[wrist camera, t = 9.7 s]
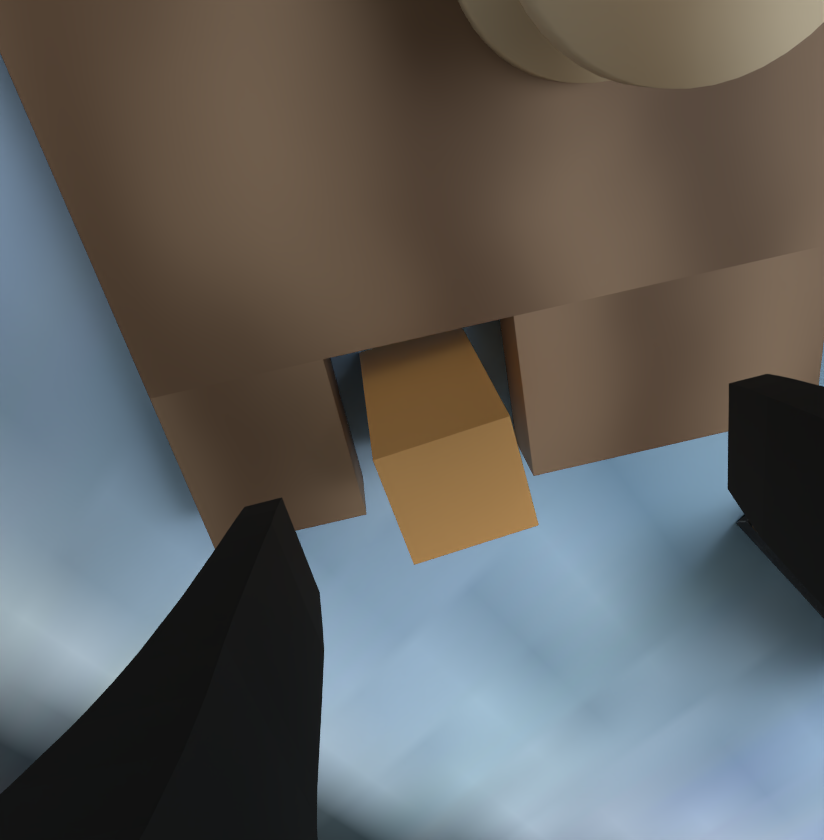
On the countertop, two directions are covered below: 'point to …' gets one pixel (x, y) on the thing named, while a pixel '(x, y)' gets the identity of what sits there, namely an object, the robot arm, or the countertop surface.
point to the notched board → (417, 226)
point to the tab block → (443, 445)
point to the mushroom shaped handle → (642, 37)
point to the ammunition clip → (779, 563)
